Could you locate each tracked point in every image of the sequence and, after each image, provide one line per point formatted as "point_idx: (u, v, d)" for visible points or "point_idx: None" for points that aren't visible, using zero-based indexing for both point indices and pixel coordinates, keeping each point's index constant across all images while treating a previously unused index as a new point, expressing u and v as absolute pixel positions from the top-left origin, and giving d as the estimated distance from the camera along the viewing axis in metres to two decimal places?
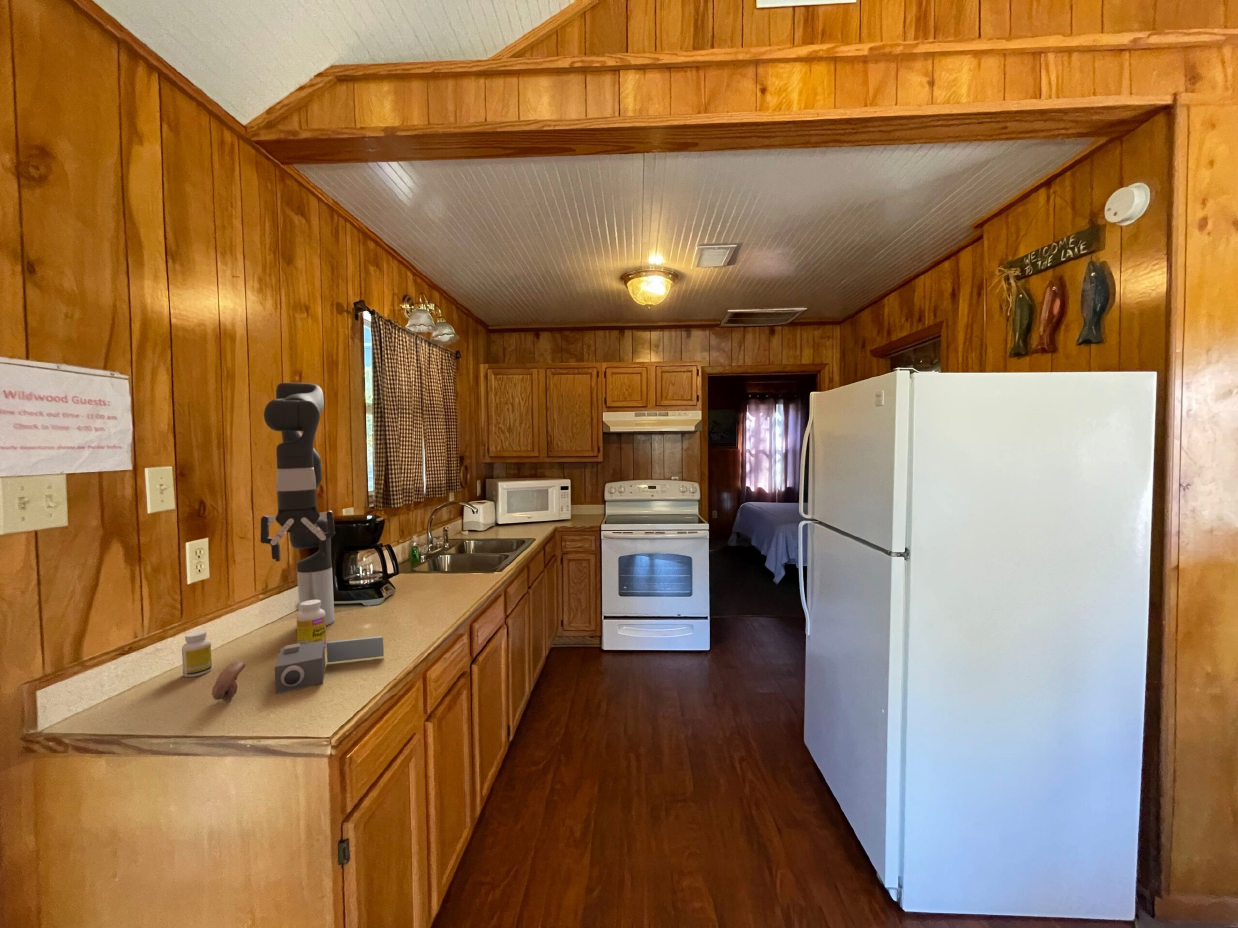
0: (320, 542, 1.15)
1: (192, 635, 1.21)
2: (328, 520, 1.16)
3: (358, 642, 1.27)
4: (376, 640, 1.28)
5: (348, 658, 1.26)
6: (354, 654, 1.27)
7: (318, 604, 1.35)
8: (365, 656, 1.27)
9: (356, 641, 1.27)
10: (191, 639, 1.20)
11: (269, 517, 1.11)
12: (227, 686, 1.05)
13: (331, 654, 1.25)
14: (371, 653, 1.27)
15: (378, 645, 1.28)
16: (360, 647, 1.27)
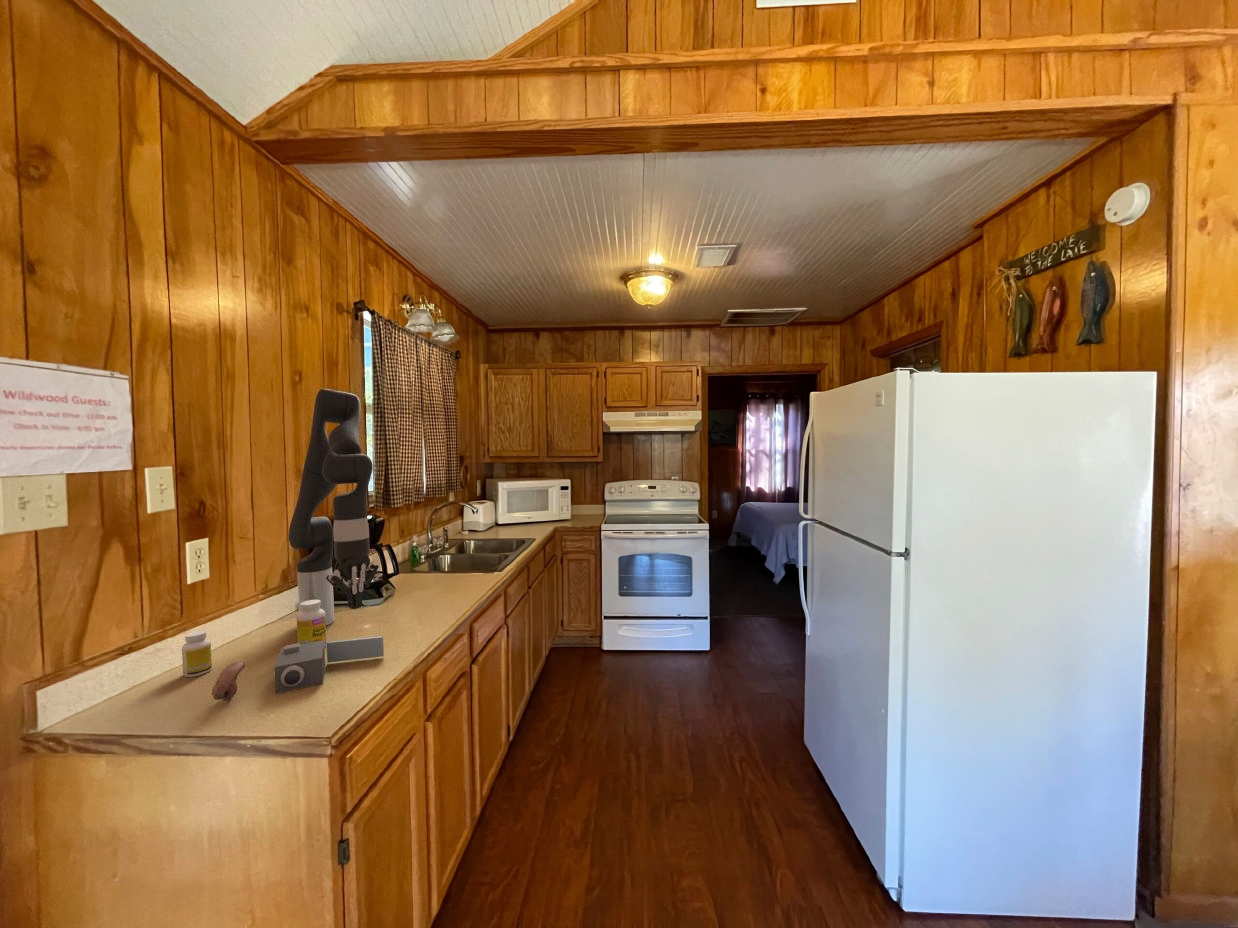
0: None
1: (192, 635, 1.21)
2: None
3: (358, 642, 1.27)
4: (376, 640, 1.28)
5: (348, 658, 1.26)
6: (354, 654, 1.27)
7: (318, 604, 1.35)
8: (365, 656, 1.27)
9: (356, 641, 1.27)
10: (191, 639, 1.20)
11: None
12: (227, 686, 1.05)
13: (331, 654, 1.25)
14: (371, 653, 1.27)
15: (378, 645, 1.28)
16: (360, 647, 1.27)
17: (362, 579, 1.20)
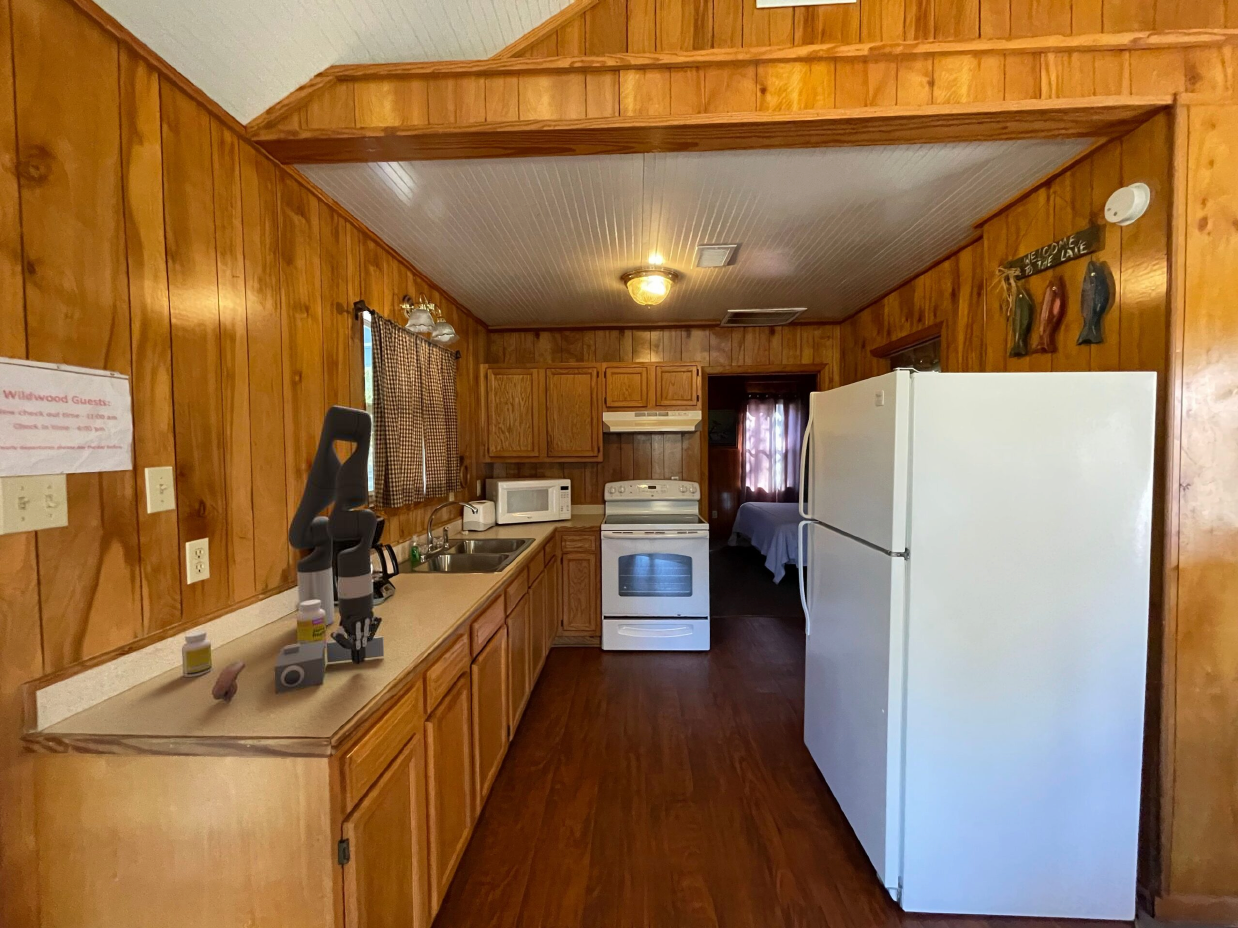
0: None
1: (192, 635, 1.21)
2: None
3: None
4: (376, 640, 1.28)
5: (348, 658, 1.26)
6: None
7: (318, 604, 1.35)
8: None
9: None
10: (191, 639, 1.20)
11: None
12: (227, 686, 1.05)
13: (331, 654, 1.25)
14: (371, 653, 1.27)
15: (378, 645, 1.28)
16: None
17: (365, 634, 1.21)
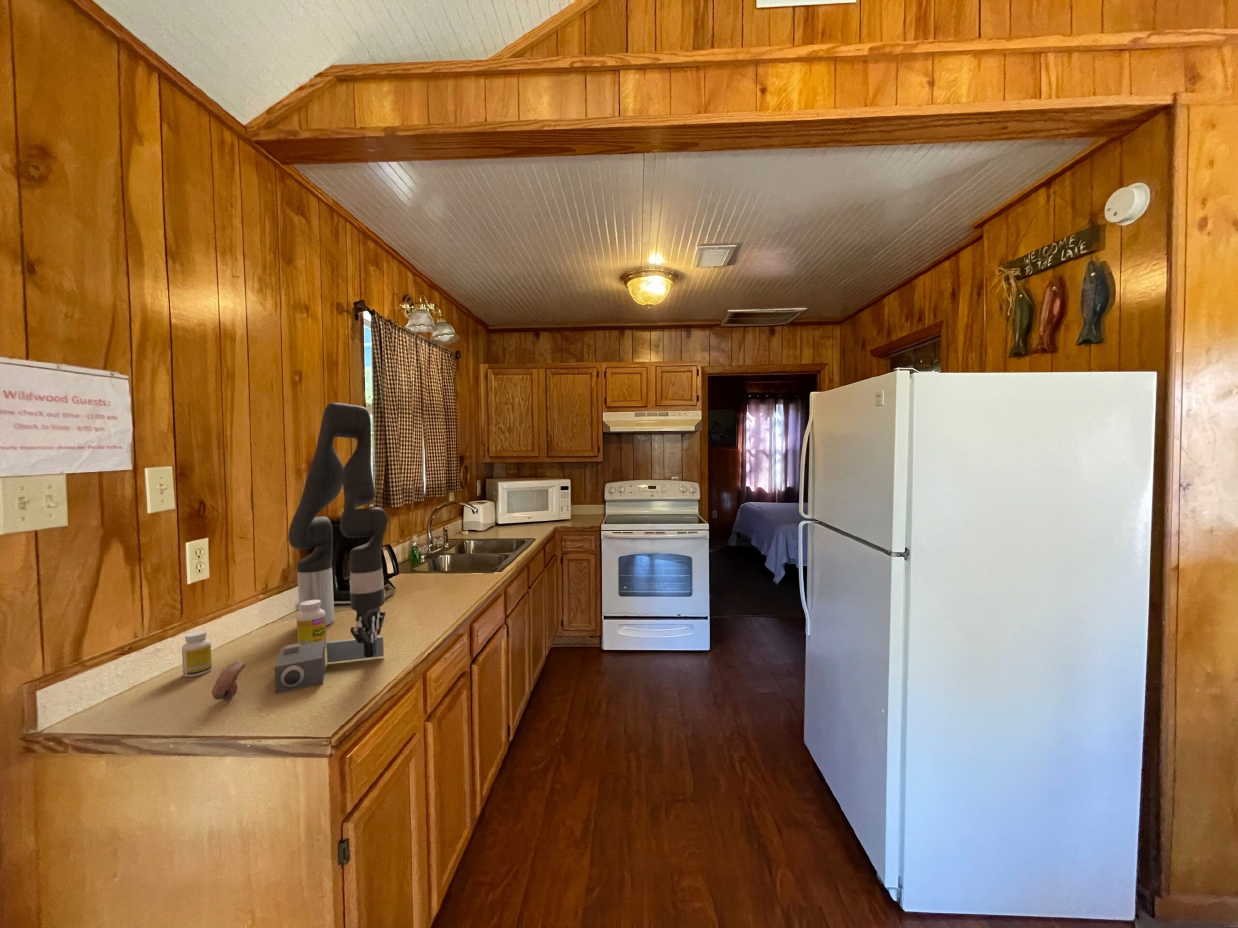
0: None
1: (192, 635, 1.21)
2: None
3: None
4: (376, 640, 1.28)
5: (348, 658, 1.26)
6: (354, 654, 1.27)
7: (318, 604, 1.35)
8: None
9: (356, 641, 1.27)
10: (191, 639, 1.20)
11: None
12: (227, 686, 1.05)
13: (331, 654, 1.25)
14: None
15: (378, 645, 1.28)
16: (360, 647, 1.27)
17: (377, 627, 1.26)
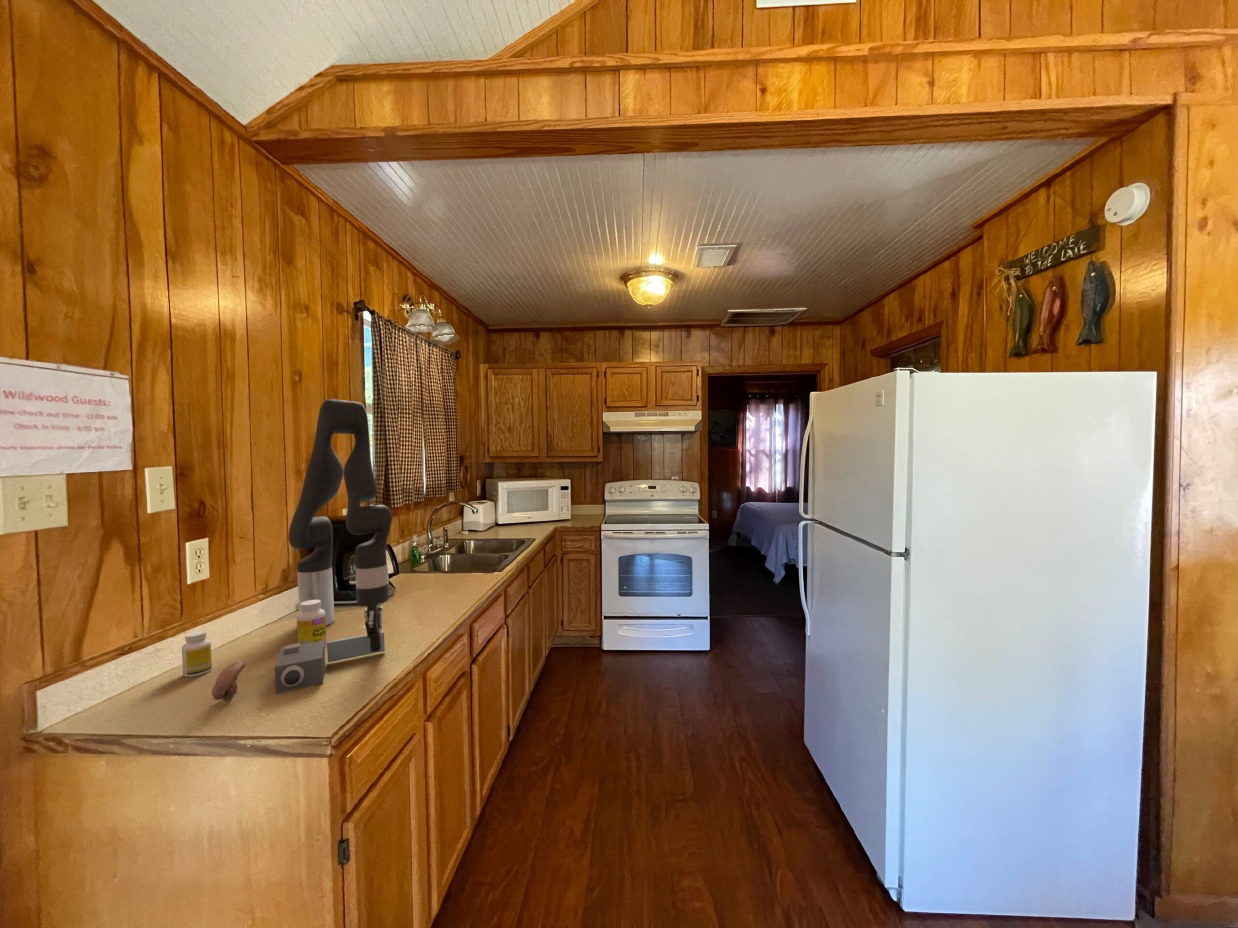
0: (370, 638, 1.27)
1: (192, 635, 1.21)
2: None
3: (360, 639, 1.29)
4: None
5: (349, 656, 1.27)
6: (356, 651, 1.28)
7: (318, 604, 1.35)
8: (366, 652, 1.29)
9: (357, 638, 1.28)
10: (191, 639, 1.20)
11: None
12: (227, 686, 1.05)
13: (331, 654, 1.26)
14: None
15: None
16: (361, 644, 1.29)
17: (382, 621, 1.29)
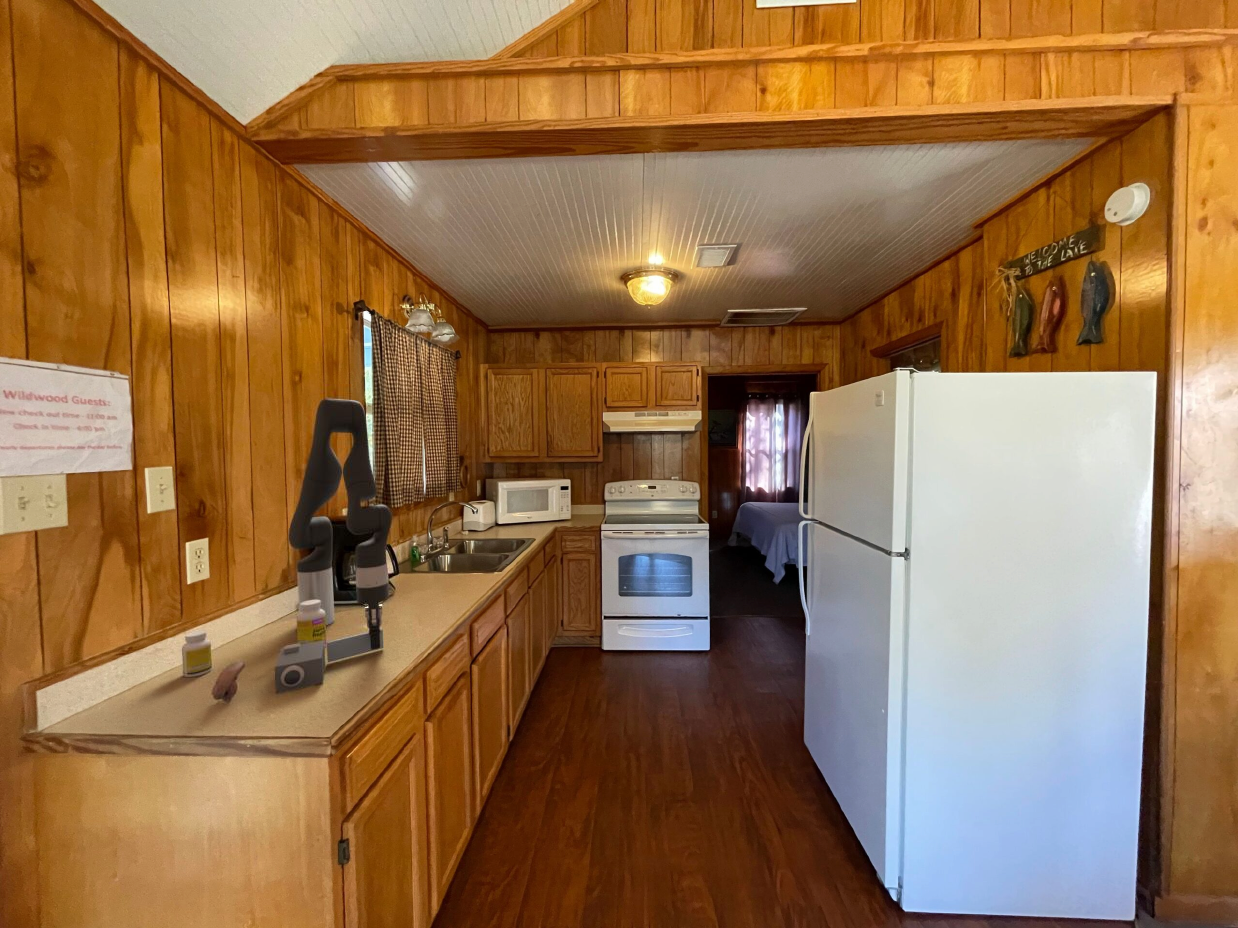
0: (370, 636, 1.29)
1: (192, 635, 1.21)
2: None
3: (359, 637, 1.30)
4: None
5: (349, 655, 1.28)
6: (356, 649, 1.29)
7: (318, 604, 1.35)
8: (366, 650, 1.31)
9: (357, 637, 1.29)
10: (191, 639, 1.20)
11: None
12: (227, 686, 1.05)
13: (332, 654, 1.26)
14: None
15: None
16: (361, 642, 1.30)
17: None
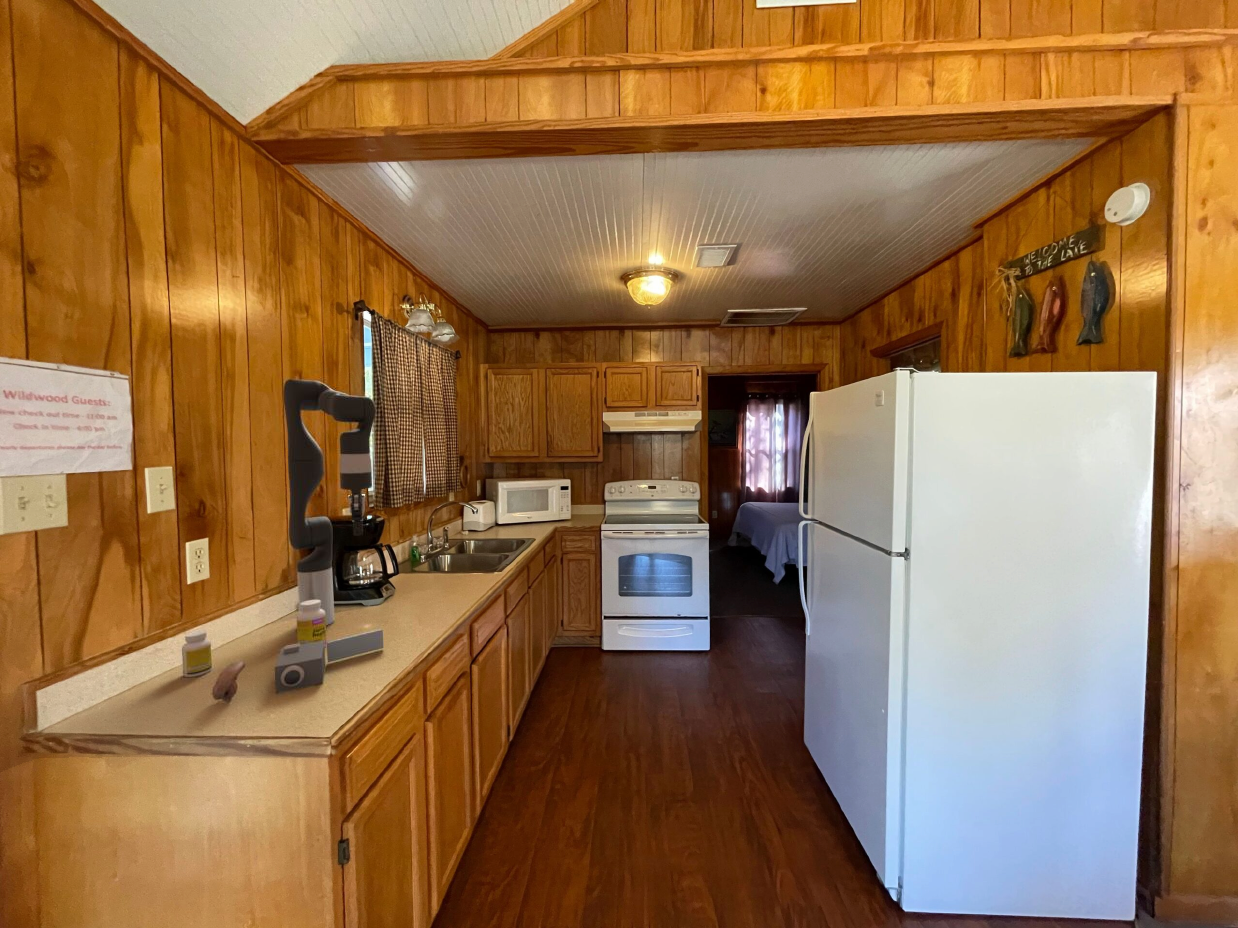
0: None
1: (192, 635, 1.21)
2: (351, 508, 1.29)
3: (359, 637, 1.30)
4: (377, 633, 1.32)
5: (349, 655, 1.28)
6: (356, 649, 1.29)
7: (318, 604, 1.35)
8: (366, 650, 1.31)
9: (357, 637, 1.29)
10: (191, 639, 1.20)
11: None
12: (227, 686, 1.05)
13: (332, 654, 1.26)
14: (372, 646, 1.32)
15: (378, 638, 1.33)
16: (361, 642, 1.30)
17: None
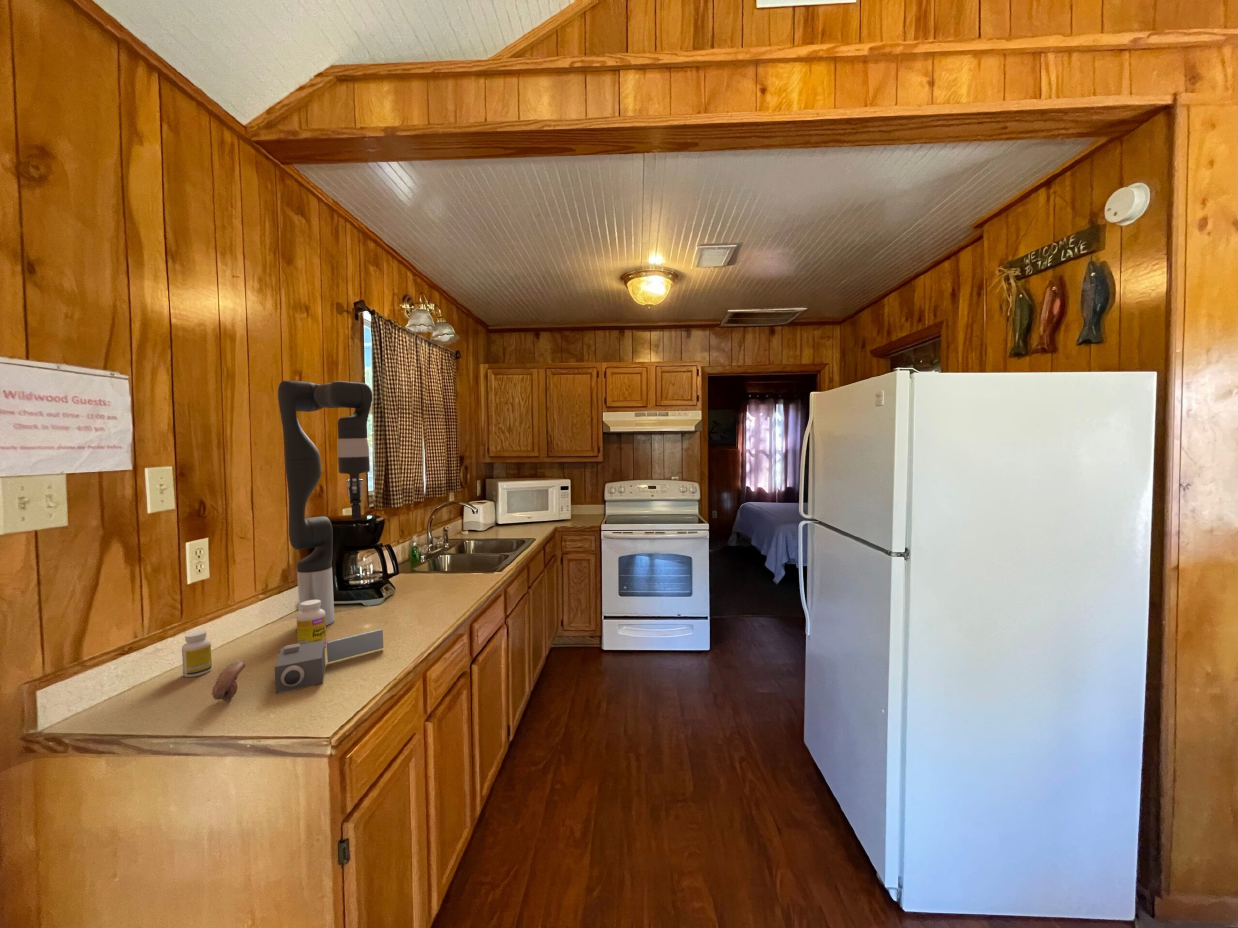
0: (351, 507, 1.35)
1: (192, 635, 1.21)
2: (349, 491, 1.31)
3: (359, 637, 1.30)
4: (377, 633, 1.32)
5: (349, 655, 1.28)
6: (356, 649, 1.29)
7: (318, 604, 1.35)
8: (366, 650, 1.31)
9: (357, 637, 1.29)
10: (191, 639, 1.20)
11: None
12: (227, 686, 1.05)
13: (332, 654, 1.26)
14: (372, 646, 1.32)
15: (378, 638, 1.33)
16: (361, 642, 1.30)
17: (362, 493, 1.38)
